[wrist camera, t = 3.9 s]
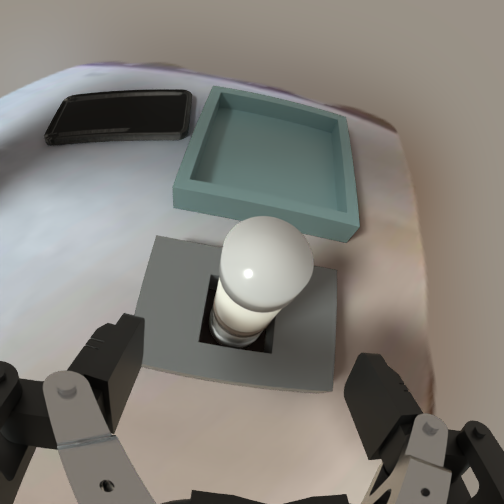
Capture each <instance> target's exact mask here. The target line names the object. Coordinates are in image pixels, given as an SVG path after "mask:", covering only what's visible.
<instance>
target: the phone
mask: <svg viewBox="0 0 504 504" xmlns="http://www.w3.org/2000/svg"><path fill="white" fill-rule="evenodd" d="M191 101H192V94H191V92H189V91H187V90H127V91H110V92H98V93H87V94H78V95H72V96H69V97H67V98H66V99H64V100H63V102H62V103H61V105H60V107H59V109H58V110H57V112H56V114H55V116H54V118H53V119H52V121H51V123H50V125H49V127H48V129H47V131H46V133H45V135H44V137H45V140H46V143H47V144H48V145H62V144H74V143H88V142H106V141H135V140H180V139H183V138H185V137H186V136H187V134H188V127H189V118H190V109H191Z"/></svg>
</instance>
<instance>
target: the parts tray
mask: <svg viewBox="0 0 504 504" xmlns="http://www.w3.org/2000/svg"><path fill="white" fill-rule="evenodd" d="M173 206H174V208H178V209H183V210H188V211H194V212H199V213H204V214H210V215H215V216H220V217H225V218H230V219H235V220H240V221H243V220H246V219H248V218H252V217H257V216H269V217H275V218H278V219H281V220H284V221H286V222H288V223H290V224H291V225H293V226H294V227H295V228H297V229H298V230H299V231H300V232H301V233H303V234H308V235H313V236H317V237H322V238H327V239H331V240H336V241H340V242H345V243H347V241H348V240H349V239H350V238H351V237H352V236H353V234H354V233H355V232H356V231H357V230H358V228H359V227H360V223H359V212H358V201H357V192H356V183H355V175H354V167H353V159H352V152H351V145H350V139H349V133H348V126H347V121H346V117H344V116H341V115H337V114H334V113H331V112H327V111H324V110H321V109H317V108H314V107H310V106H306V105H303V104H299V103H295V102H291V101H287V100H283V99H279V98H274V97H270V96H266V95H261V94H256V93H251V92H246V91H241V90H236V89H230V88H224V87H218V86H213V87H212V90H211V92H210V94H209V96H208V99H207V101H206V103H205V106H204V108H203V110H202V113H201V115H200V117H199V120H198V122H197V125H196V127H195V130H194V132H193V135H192V137H191V140H190V142H189V145H188V147H187V150H186V152H185V155H184V158H183V160H182V163H181V166H180V168H179V171H178V174H177V176H176V179H175V182H174V185H173Z"/></svg>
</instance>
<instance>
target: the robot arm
mask: <svg viewBox="0 0 504 504" xmlns="http://www.w3.org/2000/svg"><path fill="white" fill-rule="evenodd" d="M144 331H145V319H144V318H143V317H139V316H134V315H130V314H126V313H124V314H123V315H122V316H121V318H120V319H119V321H118V322H117V324H116V325H114V324H110V323H107V324H105V325H103V326H101V327H100V328H98V329H97V330H96V331H95V332H94V334H93V335H92V336H91V339H89V340H88V342H87V343H86V346H84V347H83V349H82V350H81V351H80V353H79V354H78V355H77V357H76V358H75V360H74V361H73V362H72V364H71V365H70V367H69V368H68V370H67V371H58V372H55V373H53V374H51V375H49V376H48V377H47V378H46V379H45V381H34V380H27V379H20V378H19V376H18V372H17V370H16V369H15V367H14V366H12V365H11V364H9V363H7V362H3V361H0V504H13V502H14V500H15V497H16V494H17V492H18V489H19V487H20V484H21V482H22V479H23V477H24V475H25V472H26V470H27V468H28V465H29V463H30V461H31V458H32V456H33V454H34V452H35V449H36V447H41V448H49V449H57V450H58V452H59V455H60V458H61V461H62V464H63V467H64V469H65V472H66V475H67V477H68V480H69V483H70V485H71V488H72V490H73V492H74V495H75V497H76V499H77V502H78V504H156V502H155V501H154V499H153V498H152V496H151V495H150V493H149V492H148V490H147V488H146V487H145V485H144V484H143V482H142V480H141V479H140V477H139V475H138V474H137V472H136V470H135V468H134V467H133V465H132V463H131V461H130V460H129V458H128V456H127V454H126V452H125V450H124V449H123V447H122V445H121V443H120V441H119V439H118V438H117V437H116V435H112V434H114V433H115V430H116V428H117V425H118V423H119V420H120V418H121V415H122V412H123V410H124V407H125V405H126V402H127V400H128V398H129V395H130V393H131V390H132V388H133V385H134V383H135V380H136V378H137V376H138V373H139V371H140V368H141V365H142V361H143V353H144ZM344 398H345V400H346V403H347V405H348V408H349V410H350V413H351V416H352V418H353V421H354V423H355V426H356V428H357V431H358V433H359V436H360V439H361V441H362V444H363V446H364V449H365V452H366V454H367V457H368V460H375V459H382V463H381V465H380V466H379V467H378V469H377V471H376V474H375V476H374V478H373V480H372V482H371V485H370V487H369V489H368V491H367V493H366V495H365V497H364V499H363V501H362V502H361V504H504V451H503V450H502V448H501V447H500V445H499V443H498V442H497V440H496V439H495V437H494V436H493V434H492V433H491V431H490V430H489V429H488V428H487V427H486V426H485V425H484V424H482V423H480V422H478V421H469V422H467V423H466V424H465V426H464V427H463V428H462V430H461V431H455V430H448V429H447V426H446V424H445V423H444V422H443V421H442V420H441V419H440V418H438V417H437V416H434V415H432V414H426V413H425V414H423V412H422V411H421V409H420V407H419V406H418V404H417V403H416V401H415V399H414V398H413V396H412V395H411V393H410V392H408V388H407V387H406V385H404V382H403V381H402V379H401V378H400V376H399V375H398V374H397V373H396V372H395V371H394V370H393V369H391V368H390V367H388V365H387V363H386V362H385V360H384V359H383V357H382V356H381V355H380V354H372V353H361V354H360V355H359V356H358V358H357V360H356V362H355V365H354V367H353V369H352V371H351V373H350V375H349V377H348V379H347V382H346V384H345V387H344ZM111 433H112V434H111ZM470 466H471V468H472V470H473V472H474V474H475V476H476V478H477V480H478V481H479V490H478V492H477V494H476V495H475V496H474V497H473V498H471V496H470V494H469V492H468V490H467V488H466V486H465V484H464V482H463V480H462V478H461V475H463V473H464V472H465V471H466V470H467V469H468V468H469V467H470ZM162 504H265V503H261V502H257V501H253V500H249V499H245V498H242V497H238V496H235V495H228V494H218V493H210V492H203V491H196V490H192V493H191V498H190V499H182V500H175V501H169V502H165V503H162ZM285 504H349V502H348V498H347V495H346V494H342V495H331V496H316V497H309V498H306V499H302V500H298V501H293V502H289V503H285Z"/></svg>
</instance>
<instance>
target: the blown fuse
mask: <svg viewBox="0 0 504 504" xmlns="http://www.w3.org/2000/svg"><path fill="white" fill-rule="evenodd" d="M313 267H314V258H313V253H312V250H311V247H310V245H309V243H308V241H307V239H306V238H305V237H304V235H303V234H302V233H301V232H300V231H299V230H298V229H297V228H295V227H294V226H293V225H291V224H290V223H288V222H286V221H284V220H281V219H278V218H275V217H269V216H257V217H252V218H248V219H246V220H243V221H241V222H240V223H238V224H237V225H236V226H234V227H233V228H232V229H231V231H230V232H229V233H228V235H227V236H226V239H225V241H224V244H223V249H222V254H221V259H220V264H219V281H218V286H217V291H216V294H215V298H214V303H213V307H212V309H211V313H210V318H209V328H210V332H211V334H212V336H213V338H214V339H215V340H216V341H217V342H218V343H219V344H220V345H222V346H224V347H229V348H235V349H242V348H245V347H248V346H249V345H251V344H252V343H253V342H254V341H255V340H256V339H257V338H258V337H259V336H260V335H261V333H262V331H263V330H264V329H265V328H266V327H267V326H268V324H269V323H270V322H271V321H272V319H273V318H274V317H275V316H276V315H277V314H278V312H279V311H280V310H281V309H282V308H284V307H285V306H287V305H288V304H289V303H290V302H292V300H293V299H294V298H295V297H296V296H297V295H298V294H299V293H300V292H301V291H302V289H303V288H304V287H305V286H306V285H307V283H308V282H309V280H310V278H311V276H312V272H313Z"/></svg>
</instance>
